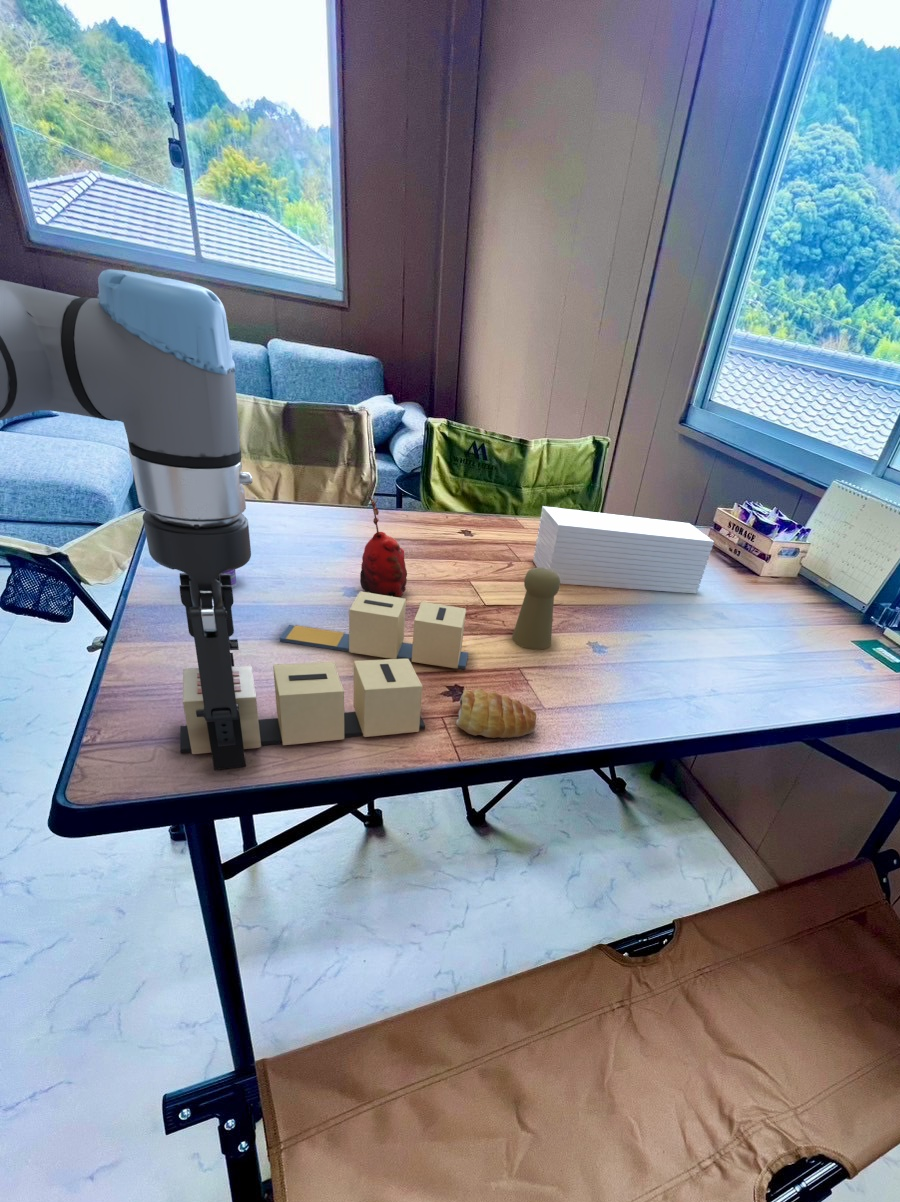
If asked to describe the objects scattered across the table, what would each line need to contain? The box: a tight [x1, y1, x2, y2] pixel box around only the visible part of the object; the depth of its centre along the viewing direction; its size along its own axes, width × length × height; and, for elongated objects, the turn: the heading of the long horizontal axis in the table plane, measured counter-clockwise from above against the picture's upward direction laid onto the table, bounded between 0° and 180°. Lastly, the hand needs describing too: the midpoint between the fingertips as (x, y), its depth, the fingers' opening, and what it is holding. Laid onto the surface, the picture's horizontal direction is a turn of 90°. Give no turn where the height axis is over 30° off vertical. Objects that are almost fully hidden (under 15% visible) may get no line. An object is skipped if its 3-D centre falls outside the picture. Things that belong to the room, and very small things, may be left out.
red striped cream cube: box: [182, 665, 262, 755], centre depth 61 cm, size 6×6×6 cm
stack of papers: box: [532, 505, 715, 594], centre depth 121 cm, size 32×11×11 cm, turn 106°
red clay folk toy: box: [359, 494, 408, 598], centre depth 94 cm, size 8×7×15 cm
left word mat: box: [179, 658, 426, 754], centre depth 65 cm, size 24×6×7 cm, turn 114°
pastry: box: [455, 688, 537, 739], centre depth 73 cm, size 9×7×4 cm
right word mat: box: [279, 590, 469, 670], centre depth 81 cm, size 24×6×7 cm, turn 91°
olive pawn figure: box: [511, 567, 561, 651], centre depth 91 cm, size 6×6×11 cm
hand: (227, 735), depth 63 cm, fingers open, 9 cm apart
